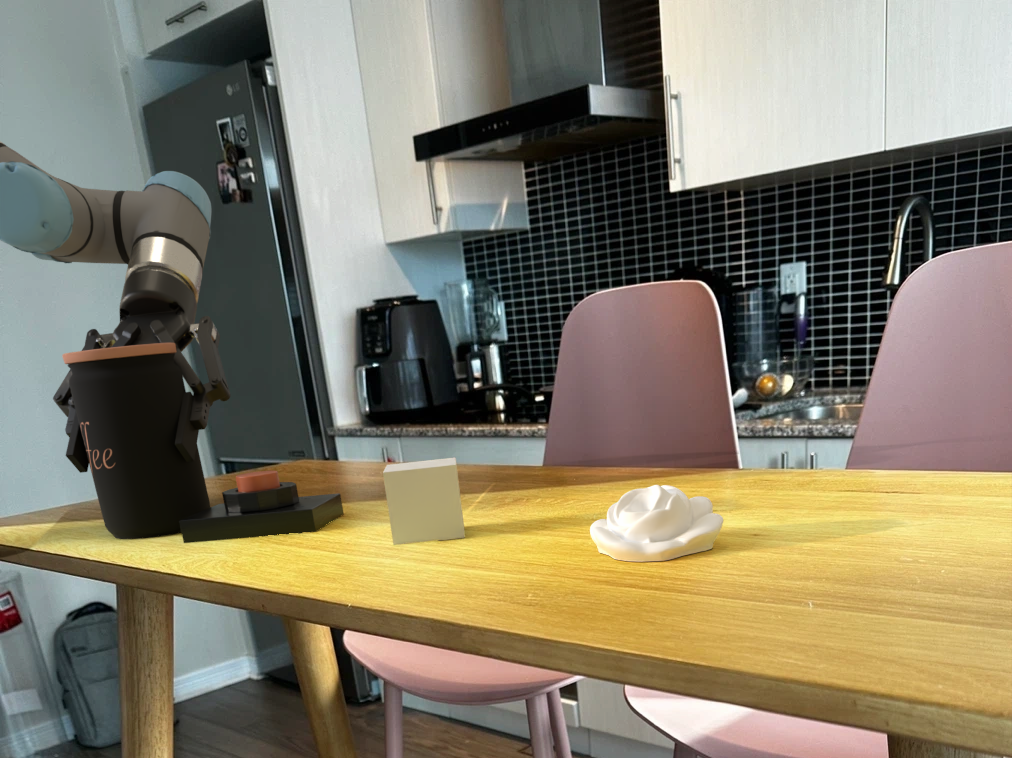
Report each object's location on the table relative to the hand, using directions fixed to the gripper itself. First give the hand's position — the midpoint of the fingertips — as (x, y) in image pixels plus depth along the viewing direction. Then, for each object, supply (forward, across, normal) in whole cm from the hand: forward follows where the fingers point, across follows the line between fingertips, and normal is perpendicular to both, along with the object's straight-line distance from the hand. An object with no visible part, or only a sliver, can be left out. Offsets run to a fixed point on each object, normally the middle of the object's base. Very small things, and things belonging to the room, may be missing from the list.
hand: (130, 458), depth 102 cm
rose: (+25, -51, +13) cm, 58 cm away
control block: (+7, -13, -4) cm, 15 cm away
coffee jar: (+3, 0, -8) cm, 9 cm away
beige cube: (+15, -32, +4) cm, 35 cm away
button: (+4, -13, -2) cm, 14 cm away
